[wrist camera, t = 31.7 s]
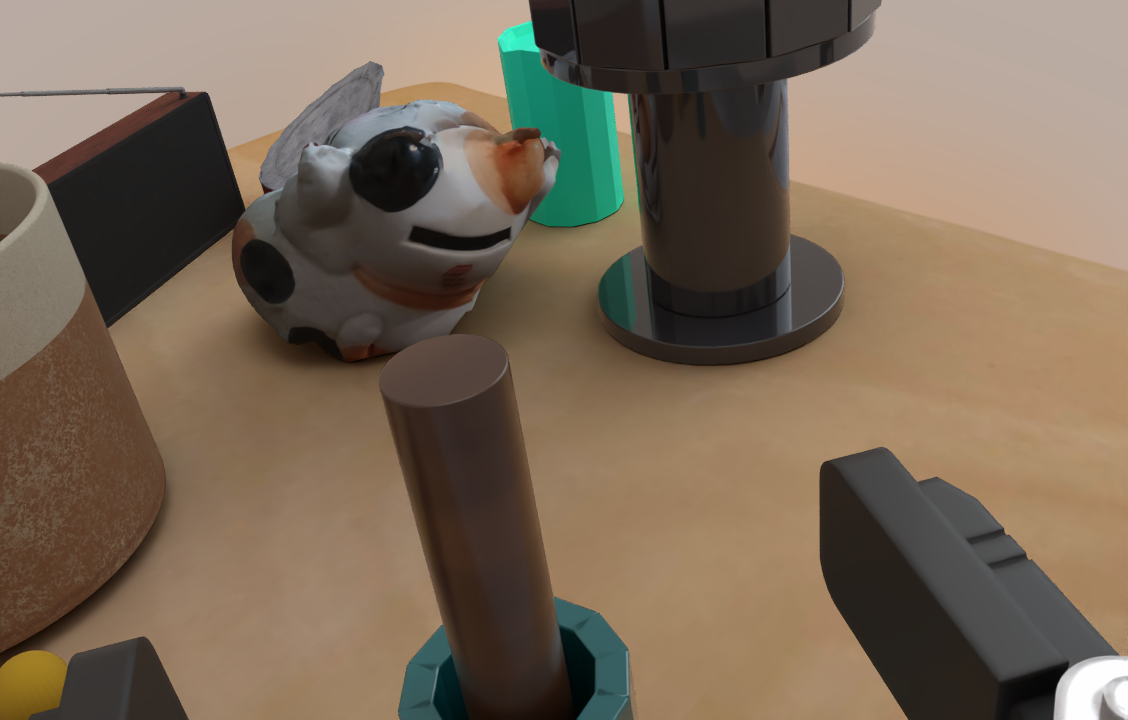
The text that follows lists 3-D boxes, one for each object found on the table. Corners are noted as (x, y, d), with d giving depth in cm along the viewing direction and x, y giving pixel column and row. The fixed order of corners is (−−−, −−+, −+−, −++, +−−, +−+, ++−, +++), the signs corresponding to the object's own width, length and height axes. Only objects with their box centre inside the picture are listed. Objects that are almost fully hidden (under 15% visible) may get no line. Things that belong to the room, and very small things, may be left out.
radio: (209, 215, 71) (130, -17, 63) (247, 216, 70) (172, -19, 62) (4, 370, 56) (-132, 95, 48) (48, 374, 55) (-83, 94, 47)
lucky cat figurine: (459, 220, 65) (527, 18, 55) (538, 369, 58) (630, 170, 49) (204, 232, 57) (233, 0, 47) (263, 405, 51) (310, 178, 41)
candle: (529, 189, 67) (498, -4, 61) (624, 179, 67) (602, -17, 60) (521, 231, 62) (486, 25, 56) (624, 221, 62) (600, 11, 55)
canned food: (411, 284, 69) (367, 188, 60) (266, 271, 70) (203, 176, 62) (450, 147, 74) (416, 40, 65) (314, 138, 76) (263, 32, 67)
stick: (620, 856, 28) (533, 346, 20) (574, 936, 27) (456, 418, 18) (545, 819, 29) (431, 324, 21) (496, 894, 28) (351, 389, 19)
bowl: (906, 254, 54) (926, -168, 44) (803, 407, 44) (797, -89, 34) (658, 219, 61) (624, -151, 51) (523, 344, 52) (447, -81, 41)
